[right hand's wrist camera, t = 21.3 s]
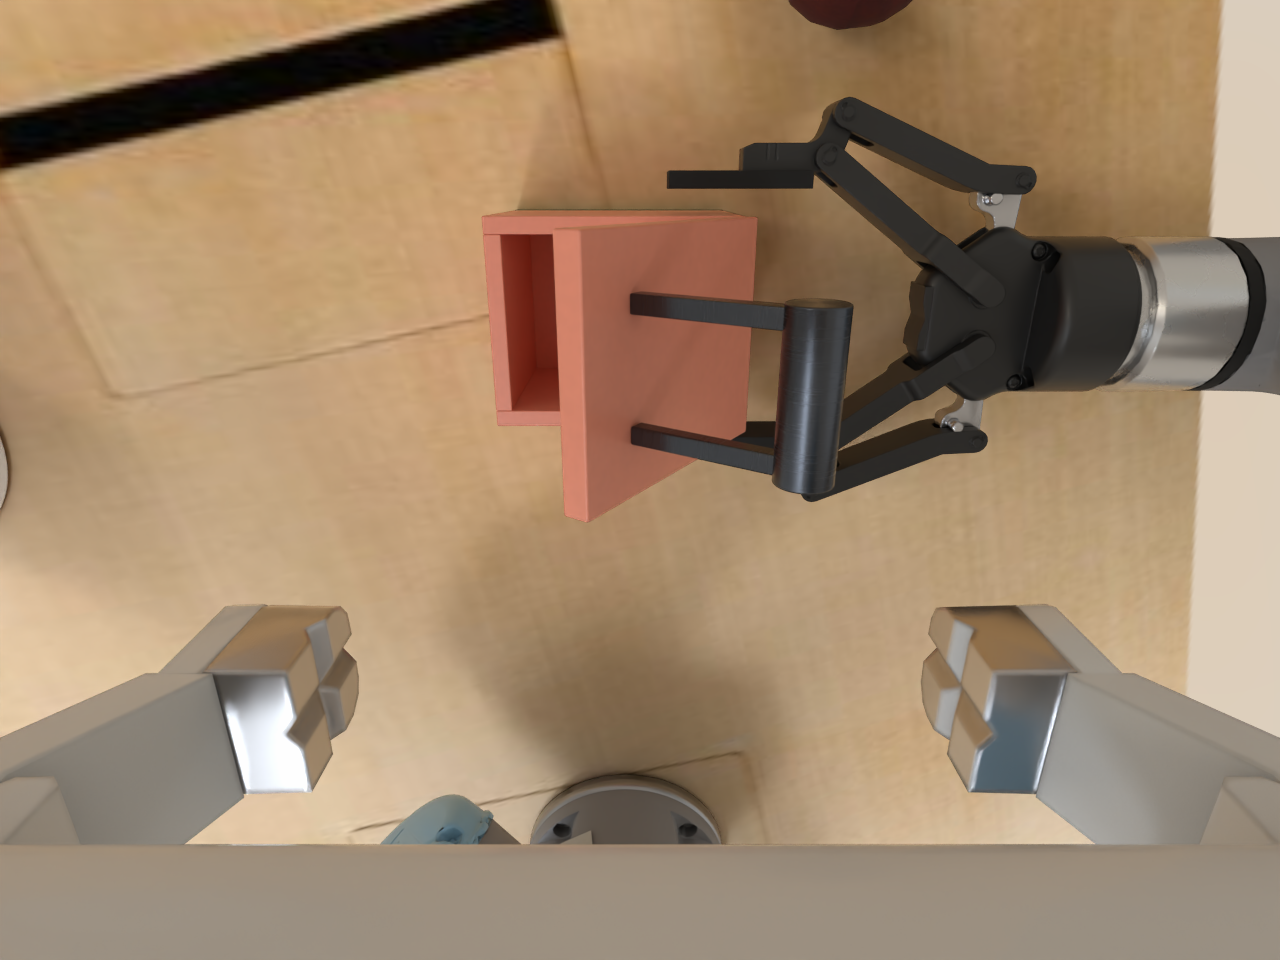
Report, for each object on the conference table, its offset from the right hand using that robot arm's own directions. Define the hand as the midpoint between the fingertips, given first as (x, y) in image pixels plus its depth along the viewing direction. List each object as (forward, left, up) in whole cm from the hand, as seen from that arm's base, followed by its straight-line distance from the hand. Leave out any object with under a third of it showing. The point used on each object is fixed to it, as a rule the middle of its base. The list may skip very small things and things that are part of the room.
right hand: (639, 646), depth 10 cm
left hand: (+1, +1, -28) cm, 28 cm away
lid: (0, +1, -20) cm, 20 cm away
